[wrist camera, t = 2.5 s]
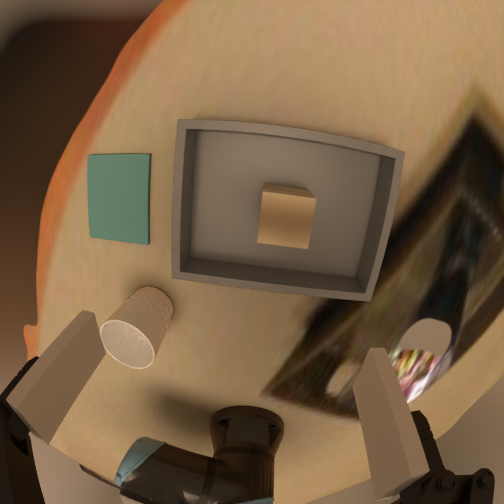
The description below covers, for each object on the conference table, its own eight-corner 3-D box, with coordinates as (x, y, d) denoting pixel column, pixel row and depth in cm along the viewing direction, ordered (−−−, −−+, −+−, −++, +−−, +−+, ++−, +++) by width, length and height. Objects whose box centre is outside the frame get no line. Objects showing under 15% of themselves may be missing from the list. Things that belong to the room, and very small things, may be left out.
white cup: (133, 274, 38) (99, 310, 28) (182, 293, 38) (157, 335, 29) (129, 315, 41) (100, 354, 31) (173, 333, 41) (151, 376, 32)
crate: (359, 282, 36) (370, 301, 31) (183, 261, 36) (171, 278, 32) (387, 150, 29) (404, 151, 25) (191, 123, 30) (177, 119, 25)
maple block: (300, 229, 33) (307, 249, 27) (259, 223, 33) (256, 242, 27) (307, 188, 31) (316, 198, 25) (264, 182, 31) (262, 191, 25)
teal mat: (149, 243, 36) (148, 244, 35) (92, 236, 36) (90, 237, 35) (151, 154, 31) (149, 154, 31) (90, 155, 32) (87, 155, 31)
